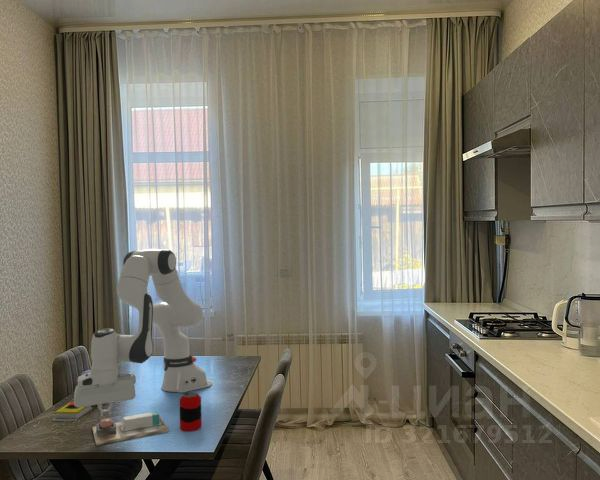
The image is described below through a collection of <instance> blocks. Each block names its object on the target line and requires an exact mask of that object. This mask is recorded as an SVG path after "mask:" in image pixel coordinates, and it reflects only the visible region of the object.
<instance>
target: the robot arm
mask: <svg viewBox="0 0 600 480" xmlns="http://www.w3.org/2000/svg"><path fill="white" fill-rule="evenodd" d="M122 265H123V267H122V269H121V272H120V275H119V278H118V281H117V286H116V294H117V296H118V298H119V300H120V301H122V302H123V303H124V304H126V305H128V306H130V307H132V308H134V309H136V310H137V311H138V330H137V333H136V334H120V333H117V332H116V330H115V329H114V328H102V329H99V330H96V331H95V332H94V333H93V334H92V339H91V342H90V343H91V345H90V357H91V364H92V365H91V369H90V370H91V372H89V373H86V374H84V375H82V374H81V375H79V376H78V377H77V385H76V386H75V388H74V394H73V402H74V406H75V407H77V408H78V407H85V406H91V407H92V406H97V409H98V410H99V412H100V417H107V416H111V410H112V408H113V407H114V403H117V402H124V401H130V400H134V399H135V397H136V389H135V385H136V381H137V378H136V375H135V374H134V373H132V372H128V373H119V364H118V362H123V363H124V362H125V363H126V362H127V363H129V362H130V363H136V364H143V363H146V361H147V360H149V359H150V358H151V356H152V355H153V352H154V351H153V348H154V343H153V325H155V326H156V328H157V329H158V330H159V333H160V334H161V337H162V340H163V351H164V355H163V356H164V357H163V362H162V363H163V365H162V367H163V377H162V384H161V390H163V391H165V392H172V393H178V394H179V393H180V394H181V393H183V394H184V393H188V392H191V391H196V390H200V389H205V388H209V387H212V381H211V379H209V378H208V377H207V374H206V372H205V370H204V369H203V368H202V367H201V366H199V365H197V364H196V363H195V362H197V357H195V356H192V355H190V340H189V337H188V335H186V334H184V333H183V332H182V331H181V330H180V327H181V328H185V327H186V328H189V327H190V328H191V327H196V326H199V325H200V324H201V322H202V321H203V318H204V311H203V307H201V305H200V304H198V303H197V302H194V300H193V299H191V298H190V297H189V296H188V295H187V293H186V292H185V291H184V288H183V286H182V284H181V280H180V277H179V274H178V270H177V268H176V267H177V257H176V255H175V253H174V252H173V251H172V250H170V249H167V248H163V249H160V248H159V249H157V248H148V249H141V250H131V251H129V252H127V253H126V255H125V256H124V257H123V262H122ZM150 277H151V279H152V283H153V286H154V289H155V291H156V292H155V293H156V295H157V297H158V299H160V300H161V301H162V302H161V301H160V302H157V303H154V302H153V298H152V296H151V295H150V294H149V292H148V287H149V281H150V280H149V279H150ZM103 404H104V405H105V404H108V407H107V409H103V408H102V407H103Z"/></svg>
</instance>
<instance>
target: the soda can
mask: <svg viewBox="0 0 600 480" xmlns="http://www.w3.org/2000/svg"><path fill="white" fill-rule="evenodd" d="M201 427H202V397H201V395H199V393H197V392H191V391H189V392H184V393H183V394H182V395H181V396H180V398H179V429H180V430H181V431H183V432H195V431H197V430H199V429H201Z"/></svg>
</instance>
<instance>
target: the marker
mask: <svg viewBox="0 0 600 480" xmlns="http://www.w3.org/2000/svg"><path fill="white" fill-rule="evenodd" d="M159 415H160V413H159V411H152V412H151V411H150V412H145V413H144V412H143V413H140V414H134V415H129V416H128V415H126V416H123V418H122V420H123V421H122V422H123V426H124V429H125V430H130V429H135V428H141V427H146V426H152V425H158V424H159Z"/></svg>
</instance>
